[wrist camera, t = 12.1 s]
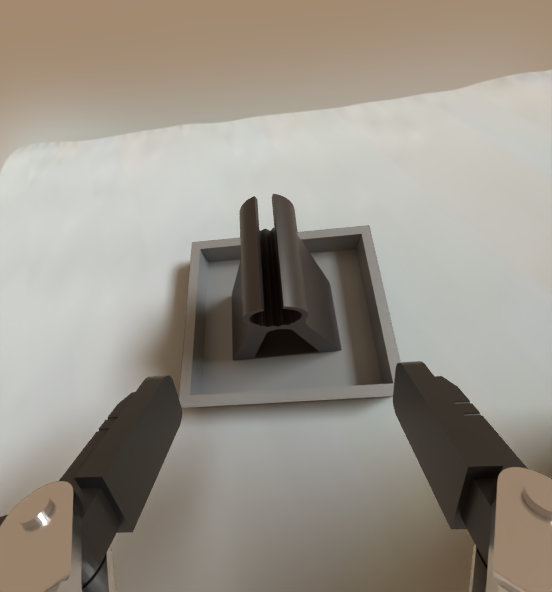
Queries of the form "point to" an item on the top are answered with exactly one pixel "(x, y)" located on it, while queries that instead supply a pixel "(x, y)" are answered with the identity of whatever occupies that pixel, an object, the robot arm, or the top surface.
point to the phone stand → (279, 291)
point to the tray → (295, 368)
